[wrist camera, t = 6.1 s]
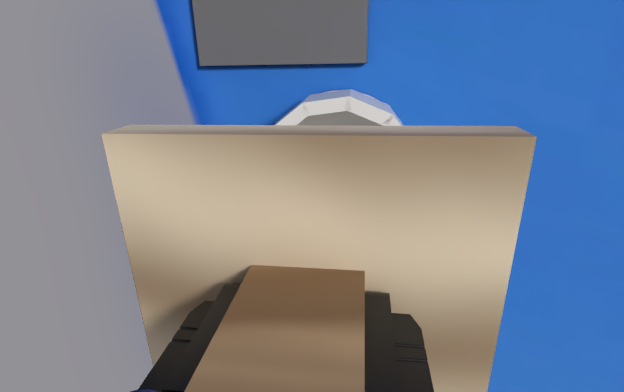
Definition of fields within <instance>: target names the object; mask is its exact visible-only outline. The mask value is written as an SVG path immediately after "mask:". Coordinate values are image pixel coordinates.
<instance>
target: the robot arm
mask: <svg viewBox="0 0 624 392" xmlns="http://www.w3.org/2000/svg"><path fill="white" fill-rule="evenodd" d="M240 285H241V284H234V283H226V284H225V285H224V286H223V288H222V289H221V291H220V293H219V294H218V296H217V298H216V299H215V301H206V300H205V301H204V302H202V303H201V304H200V305H198V306H197V307H196V308H195V309H193V310H192V311H191V312H189V314H188V315H187V317H186V318H185V320H184V321H183V323H182V324H181V326H180V330H177V332H176V333H175V335H174V336H173V338H172V342H169V344H168V346H167V347H166V349H165V350H164V352H163V353H162V355H161V356H160V358H159V359H158V361H157V362H156V364H155V365H154V367H153V368H152V370H151V371H150V373H149V374H148V376H147V377H146V379H145V380H144V382H143V383H142V385H141V386H140V388H139V389H138V390H135V391H131V392H184V391H185V389H186V387H187V386H188V384H189V382H190V380H191V378H192V376H193V374H194V372H195V370H196V369H197V367H198V365H199V363H200V361H201V359H202V357H203V355H204V353H205V351H206V350H207V348H208V346H209V344H210V342H211V340H212V338H213V336H214V334H215V333H216V331H217V329H218V327H219V325H220V323H221V321H222V319H223V317H224V315H225V314H226V312H227V310H228V308H229V306H230V304H231V302H232V300H233V298H234V297H235V295H236V293H237V291H238V289H239V287H240ZM365 392H434V389H433V384H432V379H431V374H430V369H429V364H428V359H427V354H426V349H425V344H424V339H423V334H422V329H421V328H420V326H419V325H418V324H417V322H416V321H415V320H414V319H413V317H412V316H411V315H410V314H400V313H391V303H390V294H389V293H382V292H365Z"/></svg>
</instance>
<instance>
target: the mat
mask: <svg viewBox="0 0 624 392" xmlns="http://www.w3.org/2000/svg"><path fill="white" fill-rule="evenodd" d="M192 5H193V13H194V22H195V30H196V38H197V46H198V55H199V63H200V66H222V65H279V64H337V63H367V32H368V0H192Z"/></svg>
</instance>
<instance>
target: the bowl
mask: <svg viewBox="0 0 624 392" xmlns="http://www.w3.org/2000/svg"><path fill="white" fill-rule="evenodd" d="M274 125H334V126H404V125H403V124H402V123H401V121H400V119H399V118H398V117H397V116H396V114H395V113H394V111H393V110H392V109H391V107H390V106H389V105H388V104H385V103H383V102H381V101H379V100H378V99H376V98H374V97H372V96H370V95H367V94H364V93H362V92H358V91H354V90H352V89H347V90H330V91H325V92H321V93H318V94H312V95H309V96H308V97H306V98H305V99H304V100H303V101H302V102H300V103H299V104H298V105H296V106H295V107H294V108H293V109H292V110H291V111H289V112H288V113H287V114H286V115H284V116H283V117H282V118H281V119H280V120H278V121H277V122H276V123H275V124H274Z"/></svg>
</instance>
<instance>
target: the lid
mask: <svg viewBox="0 0 624 392" xmlns="http://www.w3.org/2000/svg"><path fill="white" fill-rule="evenodd" d="M102 138H103V143H104V147H105V152H106V156H107V160H108V165H109V170H110V174H111V179H112V183H113V187H114V192H115V196H116V201H117V206H118V210H119V214H120V219H121V223H122V228H123V233H124V237H125V242H126V246H127V251H128V255H129V260H130V264H131V268H132V273H133V277H134V282H135V287H136V291H137V295H138V300H139V304H140V309H141V314H142V318H143V323H144V327H145V332H146V336H147V341H148V345H149V349H150V354H151V358H152V363H153V367H154V365H155V364H156V362H157V361H158V359H159V358H160V356H161V355H162V353H163V352H164V350H165V349H166V347H167V346H168V344H169V342H172V338H173V336H174V335H175V333H176V332H177V330H180V326H181V324H182V323H183V321H184V320H185V318H186V317H187V315H188V314H189V312H191V311H192V310H193V309H195V308H196V307H197V306H198V305H200V304H201V303H202V302H204V301H205V300H206V301H215V299H216V298H217V296H218V294H219V293H220V291H221V289H222V288H223V286H224V285H225V284H226V283H234V284H241V285H240V287H239V289H238V291H237V293H236V295H235V297H234V298H233V300H232V302H231V304H230V306H229V308H228V310H227V312H226V314H225V315H224V317H223V319H222V321H221V323H220V325H219V327H218V329H217V331H216V333H215V334H214V336H213V338H212V340H211V342H210V344H209V346H208V348H207V350H206V351H205V353H204V355H203V357H202V359H201V361H200V363H199V365H198V367H197V369H196V370H195V372H194V374H193V376H192V378H191V380H190V382H189V384H188V386H187V387H186V389H185V391H184V392H365V292H382V293H389V294H390V303H391V313H400V314H410V315H411V316H412V317H413V319H414V320H415V321H416V322H417V324H418V325H419V326H420V328H421V329H422V334H423V339H424V344H425V349H426V354H427V359H428V364H429V369H430V374H431V379H432V384H433V389H434V392H487V389H488V384H489V379H490V374H491V369H492V364H493V359H494V354H495V348H496V343H497V338H498V333H499V328H500V323H501V318H502V312H503V307H504V302H505V297H506V292H507V287H508V282H509V277H510V271H511V266H512V261H513V256H514V251H515V246H516V241H517V236H518V230H519V225H520V220H521V215H522V210H523V205H524V200H525V195H526V189H527V184H528V179H529V174H530V169H531V164H532V159H533V153H534V148H535V143H536V138H537V137H536V136H534V135H532V134H530V133H528V132H526V131H524V130H522V129H520V128H519V127H517V126H334V125H128V126H124V127H121V128H118V129H115V130H112V131H109V132H106V133H103V134H102Z"/></svg>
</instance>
